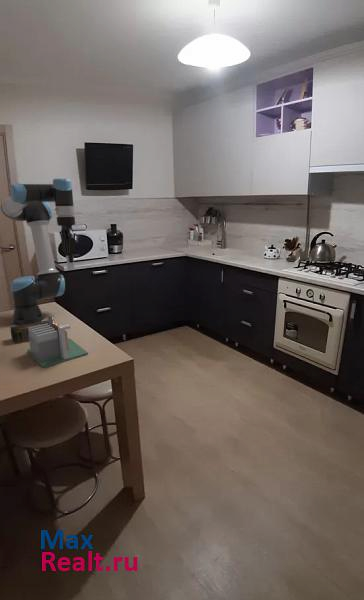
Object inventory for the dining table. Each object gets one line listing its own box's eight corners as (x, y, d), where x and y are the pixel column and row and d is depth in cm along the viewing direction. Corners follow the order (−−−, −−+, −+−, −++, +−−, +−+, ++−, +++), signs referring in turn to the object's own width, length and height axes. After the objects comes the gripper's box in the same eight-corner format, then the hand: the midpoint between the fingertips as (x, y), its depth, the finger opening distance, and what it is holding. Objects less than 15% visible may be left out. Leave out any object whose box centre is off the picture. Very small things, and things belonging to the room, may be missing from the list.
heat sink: (27, 351, 154) (23, 320, 150) (70, 340, 166) (66, 310, 161) (42, 367, 139) (37, 333, 135) (88, 354, 151) (85, 322, 146)
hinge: (50, 342, 159) (47, 317, 156) (55, 341, 161) (52, 316, 157) (65, 356, 145) (62, 329, 142) (71, 354, 147) (68, 327, 143)
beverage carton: (57, 335, 172) (55, 322, 170) (14, 345, 161) (12, 331, 160) (52, 330, 178) (50, 317, 176) (11, 339, 168) (8, 326, 166)
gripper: (51, 215, 157) (57, 268, 164) (62, 217, 148) (68, 272, 154) (68, 215, 162) (73, 266, 169) (79, 216, 152) (84, 270, 159)
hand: (71, 269), depth 161 cm, fingers closed
